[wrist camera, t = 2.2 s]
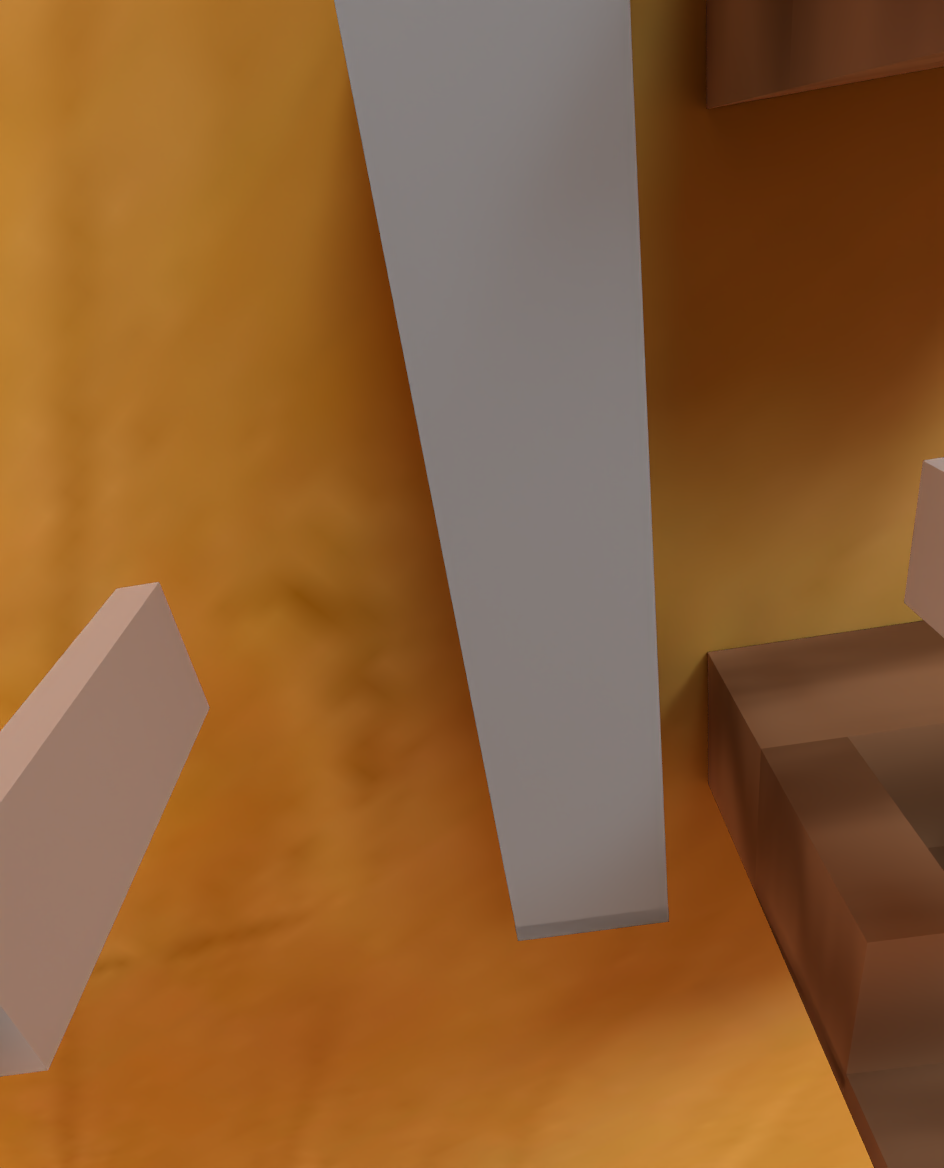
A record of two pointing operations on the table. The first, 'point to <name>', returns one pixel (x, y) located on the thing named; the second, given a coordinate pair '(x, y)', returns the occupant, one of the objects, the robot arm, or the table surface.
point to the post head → (815, 44)
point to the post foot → (848, 854)
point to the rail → (531, 416)
